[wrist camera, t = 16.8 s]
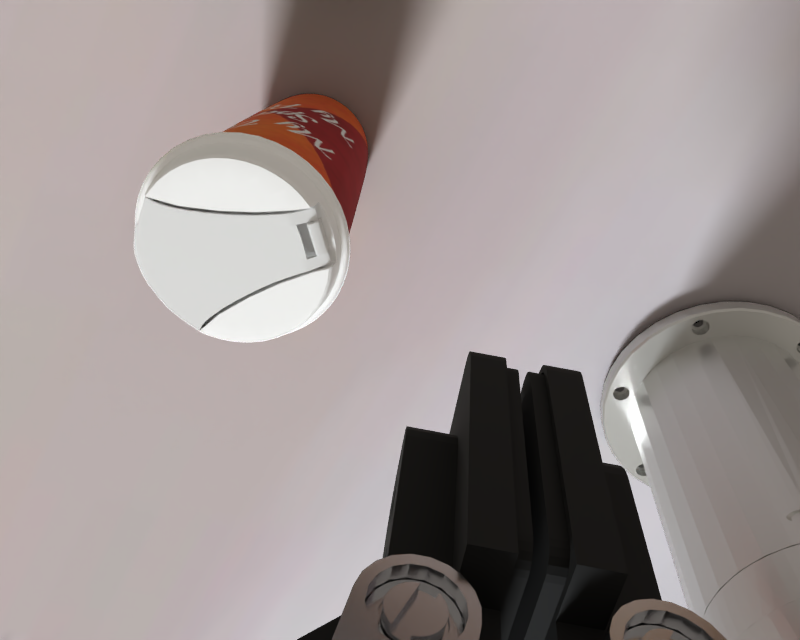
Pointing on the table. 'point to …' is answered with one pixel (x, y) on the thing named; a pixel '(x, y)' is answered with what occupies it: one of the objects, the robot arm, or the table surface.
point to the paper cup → (254, 220)
